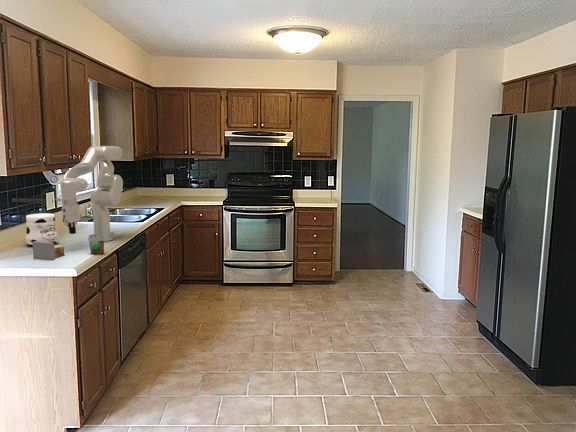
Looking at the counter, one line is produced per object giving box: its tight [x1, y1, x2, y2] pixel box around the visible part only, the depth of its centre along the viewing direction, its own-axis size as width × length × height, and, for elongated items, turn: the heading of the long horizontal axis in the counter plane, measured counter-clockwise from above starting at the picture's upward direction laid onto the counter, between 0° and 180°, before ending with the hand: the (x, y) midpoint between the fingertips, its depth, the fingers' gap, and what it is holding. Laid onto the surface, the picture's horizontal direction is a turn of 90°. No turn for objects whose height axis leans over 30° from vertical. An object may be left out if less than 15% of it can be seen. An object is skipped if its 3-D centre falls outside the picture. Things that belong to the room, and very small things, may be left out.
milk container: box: [25, 212, 59, 247], centre depth 285 cm, size 17×17×18 cm
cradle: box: [54, 247, 65, 259], centre depth 257 cm, size 9×8×4 cm
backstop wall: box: [32, 241, 56, 261], centre depth 251 cm, size 2×12×9 cm, turn 74°
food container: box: [87, 233, 105, 256], centre depth 265 cm, size 12×6×10 cm, turn 45°
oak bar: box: [54, 244, 65, 250], centre depth 258 cm, size 10×4×5 cm, turn 164°
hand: (72, 233), depth 272 cm, fingers closed
